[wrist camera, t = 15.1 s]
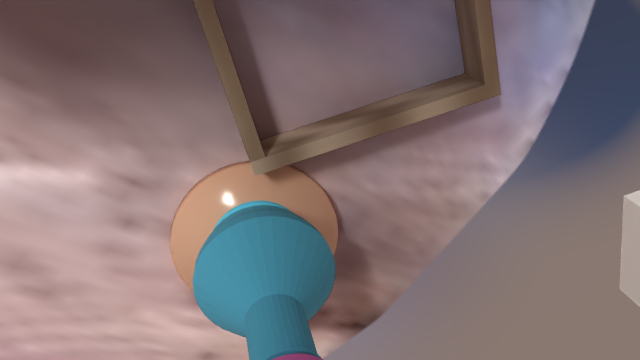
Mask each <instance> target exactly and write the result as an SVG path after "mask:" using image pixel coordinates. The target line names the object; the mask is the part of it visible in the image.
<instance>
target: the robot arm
mask: <svg viewBox="0 0 640 360" xmlns="http://www.w3.org/2000/svg"><path fill="white" fill-rule="evenodd" d="M620 290H621V291H623V292H624V293H625V294H626V295H627V296H628V297H629V298H630V299H631V300H633V301H634V302H635V303H636V304H637V305H638V306H639V307H640V191H637V192H634V193H631V194H628V195H625V196H624V202H623V226H622V247H621V270H620Z"/></svg>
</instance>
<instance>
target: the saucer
mask: <svg viewBox="0 0 640 360" xmlns="http://www.w3.org/2000/svg"><path fill="white" fill-rule="evenodd" d="M260 200H261V201H271V202H274V203H278V204H280V205H282V206H284V207H286V208H287V209H289V210H290V211H291V212H293V213H294V214H296V215H298V216H300V217H302V218H303V219H305V220H306V221H308V222H309V223H310V224H312V225H313V226H314V227H315V228H317V230H318V231H319V232H320V233H321V235H322V236H323V237H324V239H325V240H326V242H327V243H328V245H329V247H330V249H331V251H332V253H333V256H334V254H335V251H336V247H337V242H338V223H337V218H336V214H335V211H334V208H333V206H332V204H331V202H330V200H329V198H328V197H327V195H326V193H325V192H324V190H323V189H322V188H321V186H320V185H319V184H318V183H317V182H316V181H315V180H314V179H312V178H311V177H310V176H308V175H307V174H306V173H304V172H302V171H300V170H298V169H297V168H294V167H292V166H289V165H287V166H284V167H281V168H278V169H275V170H272V171H269V172H266V173H263V174H260V175H257V176H255V175H254V172H253V169H252V166H251V163H250V161H246V162H239V163H236V164H232V165H228V166H226V167H223V168H221V169H218V170H217V171H215V172H213V173H211V174H209V175H208V176H206V177H205V178H203V179H202V180H201V181H199V182H198V183H197V184H196V185H195V186H194V187H193V188H192V189H191V190H190V191H189V192H188V193H187V195H186V196H185V197H184V199H183V200H182V202H181V203H180V205H179V207H178V209H177V211H176V214H175V216H174V220H173V223H172V229H171V254H172V259H173V262H174V265H175V267H176V270H177V272H178V274H179V275H180V277H181V279H182V280H183V281H184V282H185V284H186V285H187V286H188V287H189V288H190V289H191V290H192V291H193V292H194V290H193V276H194V269H195V262H196V259H197V257H198V254H199V252H200V249H201V248H202V246H203V244H204V243H205V241H206V240H207V238H208V237H209V235H210V234H211V233H212V232H213V230H214V228H215V226H216V224H217V223H218V221H219V220H220V219H221V217H222V216H223V215H224V214H225V213H227V212H228V211H229V210H231V209H232V208H234V207H236V206H238V205H240V204H243V203H247V202H250V201H260Z"/></svg>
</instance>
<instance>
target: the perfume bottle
mask: <svg viewBox="0 0 640 360" xmlns="http://www.w3.org/2000/svg"><path fill="white" fill-rule="evenodd" d="M334 280H335V261H334V257H333V253H332V251H331V249H330V247H329V245H328V243H327V242H326V240H325V239H324V237H323V236H322V235H321V233H320V232H319V231H318V230H317V228H315V227H314V226H313V225H312V224H310V223H309V222H308V221H306V220H305V219H303V218H302V217H300V216H298V215H296V214H294V213H293V212H291V211H290V210H289V209H287V208H286V207H284V206H282V205H280V204H278V203H274V202H271V201H261V200H260V201H250V202H247V203H243V204H240V205H238V206H236V207H234V208H232V209H231V210H229V211H228V212H227V213H225V214H224V215H223V216H222V217H221V219H220V220H219V221H218V223H217V224H216V226H215V228H214V230H213V232H212V233H211V234H210V235H209V237H208V238H207V240H206V241H205V243H204V244H203V246H202V248H201V249H200V252H199V254H198V257H197V259H196V262H195V269H194V276H193V290H194V295H195V298H196V301H197V304H198V306H199V307H200V309H201V310H202V312H203V313H204V315H205V316H206V317H208V318H209V319H210V320H211V321H212V322H213V323H214V324H216V325H217V326H219V327H221V328H222V329H224V330H227V331H229V332H232V333H235V334H237V335H240V336H242V337H246V339H247V345H248V352H249V359H250V360H322V359H321V357H320V356H319V355H318V354H317V351H316V348H315V345H314V341H313V338H312V335H311V331H310V328H309V325H308V321H309V320H310V319H311V318H312V317H313V316H314V315H315V314H316V313H317V312H318V311H319V309H320V308H321V307H322V305H323V304H324V303H325V301H326V300H327V298H328V296H329V294H330V292H331V290H332V287H333V284H334Z"/></svg>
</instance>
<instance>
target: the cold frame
mask: <svg viewBox="0 0 640 360" xmlns="http://www.w3.org/2000/svg"><path fill="white" fill-rule="evenodd" d="M193 2H194V5H195V7H196V10H197V13H198V16H199V19H200V22H201V25H202V27H203V30H204V33H205V36H206V39H207V42H208V44H209V47H210V50H211V53H212V56H213V59H214V61H215V64H216V67H217V70H218V73H219V76H220V78H221V81H222V84H223V87H224V90H225V93H226V95H227V98H228V101H229V104H230V107H231V110H232V112H233V115H234V118H235V121H236V124H237V127H238V129H239V132H240V135H241V138H242V141H243V144H244V146H245V149H246V152H247V155H248V158H249V161H250V163H251V166H252V169H253V172H254V175H255V176H257V175H260V174H263V173H266V172H269V171H272V170H275V169H278V168H281V167H284V166H287V165H290V164H293V163H296V162H299V161H302V160H305V159H308V158H311V157H314V156H317V155H320V154H323V153H326V152H329V151H332V150H335V149H338V148H341V147H344V146H347V145H350V144H353V143H356V142H359V141H362V140H365V139H368V138H371V137H374V136H377V135H380V134H383V133H386V132H389V131H392V130H395V129H398V128H401V127H404V126H407V125H410V124H413V123H416V122H419V121H422V120H425V119H428V118H431V117H434V116H437V115H440V114H443V113H446V112H449V111H452V110H455V109H458V108H461V107H464V106H467V105H470V104H473V103H476V102H479V101H482V100H485V99H488V98H491V97H494V96H497V95H500V94H501V91H500V82H499V73H498V65H497V56H496V47H495V39H494V30H493V21H492V13H491V4H490V0H455V7H456V14H457V21H458V28H459V35H460V42H461V49H462V56H463V63H464V70H465V74H462V75H459V76H456V77H453V78H450V79H447V80H443V81H440V82H437V83H434V84H431V85H428V86H425V87H422V88H419V89H416V90H413V91H410V92H407V93H404V94H401V95H398V96H395V97H392V98H389V99H386V100H382V101H379V102H376V103H373V104H370V105H367V106H364V107H361V108H358V109H355V110H352V111H349V112H346V113H343V114H340V115H337V116H334V117H331V118H328V119H325V120H321V121H318V122H315V123H312V124H309V125H306V126H303V127H300V128H297V129H294V130H291V131H288V132H285V133H282V134H279V135H276V136H273V137H270V138H267V139H264V140H259V137H258V134H257V131H256V128H255V125H254V122H253V119H252V116H251V113H250V110H249V107H248V104H247V101H246V98H245V95H244V92H243V89H242V87H241V84H240V81H239V78H238V75H237V72H236V69H235V66H234V63H233V60H232V57H231V54H230V51H229V48H228V45H227V42H226V39H225V36H224V33H223V30H222V27H221V24H220V21H219V18H218V15H217V12H216V9H215V6H214V3H213V1H212V0H193Z"/></svg>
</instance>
